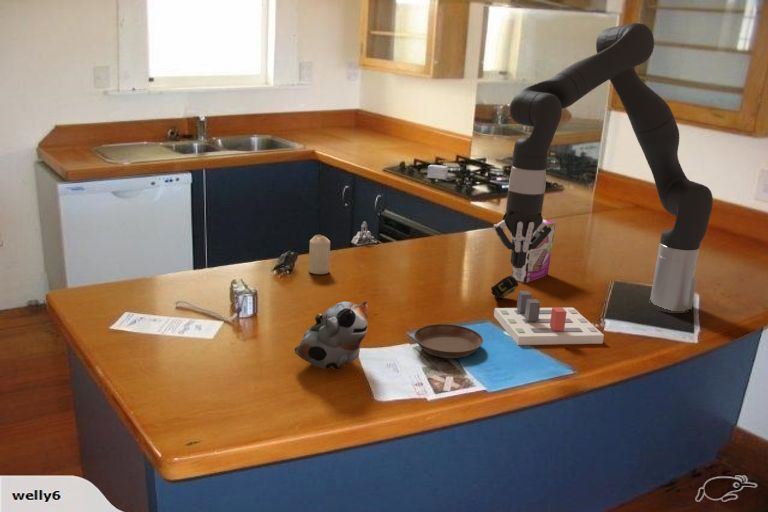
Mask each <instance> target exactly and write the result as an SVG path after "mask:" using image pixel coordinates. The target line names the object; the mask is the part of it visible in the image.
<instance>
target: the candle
mask: <svg viewBox="0 0 768 512" xmlns="http://www.w3.org/2000/svg"><path fill="white" fill-rule="evenodd" d="M308 253H309V254H308V255H309V256H308V259H309V260H308V272H309V273H311V274H313V275H325V274H328V273H329V272H330V261H331V260H330V259H331V258H330V257H331V255H330V254H331V240H329V239H328V238H327V237H326V236H325V235H321V234H315V235H314V236H313V237H312V238H311V239H310V240H309V252H308Z"/></svg>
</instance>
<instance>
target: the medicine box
mask: <svg viewBox="0 0 768 512" xmlns="http://www.w3.org/2000/svg"><path fill="white" fill-rule="evenodd" d="M448 170H449V167H448V166H447V165H440V164H439V165H438V164H430V165H428V166H427V178H428V179H436V180H437V179H439V180H446V179H447V178H448V172H449V171H448Z"/></svg>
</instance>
